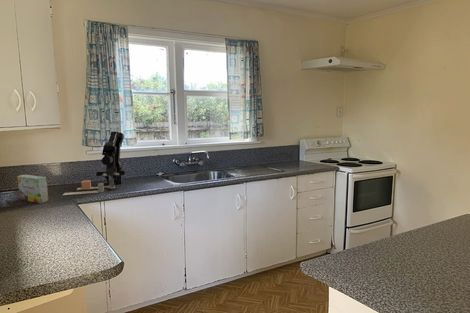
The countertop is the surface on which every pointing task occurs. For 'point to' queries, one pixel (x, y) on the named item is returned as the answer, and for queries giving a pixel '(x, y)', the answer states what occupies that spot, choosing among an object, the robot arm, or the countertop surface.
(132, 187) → the countertop surface
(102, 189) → the white long bar
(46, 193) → the snack box
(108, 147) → the robot arm
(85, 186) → the terracotta block
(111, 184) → the beige rectangular bar
